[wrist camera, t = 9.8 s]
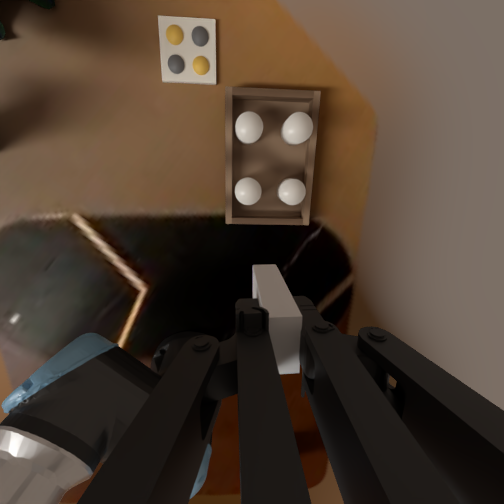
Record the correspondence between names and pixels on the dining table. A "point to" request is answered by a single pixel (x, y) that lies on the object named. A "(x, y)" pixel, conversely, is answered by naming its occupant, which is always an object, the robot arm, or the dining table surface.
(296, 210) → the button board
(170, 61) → the pattern card
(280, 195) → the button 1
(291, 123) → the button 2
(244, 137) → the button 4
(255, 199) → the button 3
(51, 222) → the dining table surface
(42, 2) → the decorative plant
